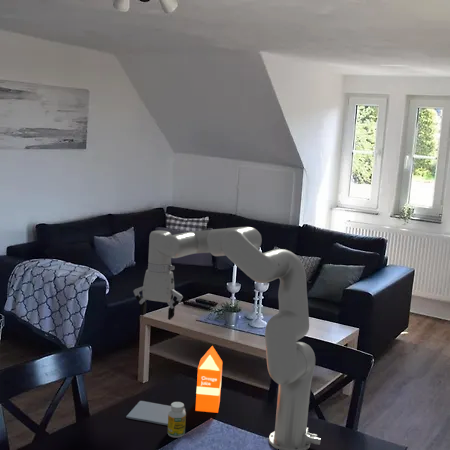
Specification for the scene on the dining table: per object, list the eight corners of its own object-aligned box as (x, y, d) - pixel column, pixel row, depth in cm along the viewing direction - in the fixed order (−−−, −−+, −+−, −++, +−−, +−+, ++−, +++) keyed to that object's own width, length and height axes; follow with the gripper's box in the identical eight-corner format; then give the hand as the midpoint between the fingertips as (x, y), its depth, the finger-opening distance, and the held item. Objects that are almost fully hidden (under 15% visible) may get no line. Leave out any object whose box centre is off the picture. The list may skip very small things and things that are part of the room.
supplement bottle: (179, 428, 198) (181, 399, 196) (188, 435, 194) (189, 406, 192) (164, 431, 195) (165, 402, 193) (172, 439, 191) (174, 409, 189)
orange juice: (220, 401, 219) (224, 346, 215) (218, 412, 210) (222, 355, 207) (197, 399, 219) (201, 344, 216) (194, 410, 210) (198, 353, 207)
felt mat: (185, 410, 210) (185, 408, 210) (174, 426, 199) (174, 424, 199) (140, 402, 214) (140, 400, 214) (126, 417, 202) (126, 416, 202)
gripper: (187, 268, 214) (184, 316, 217) (139, 262, 218) (137, 310, 221) (180, 273, 207) (177, 323, 210) (130, 266, 211) (128, 316, 214)
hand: (156, 316), depth 215 cm, fingers open, 9 cm apart
